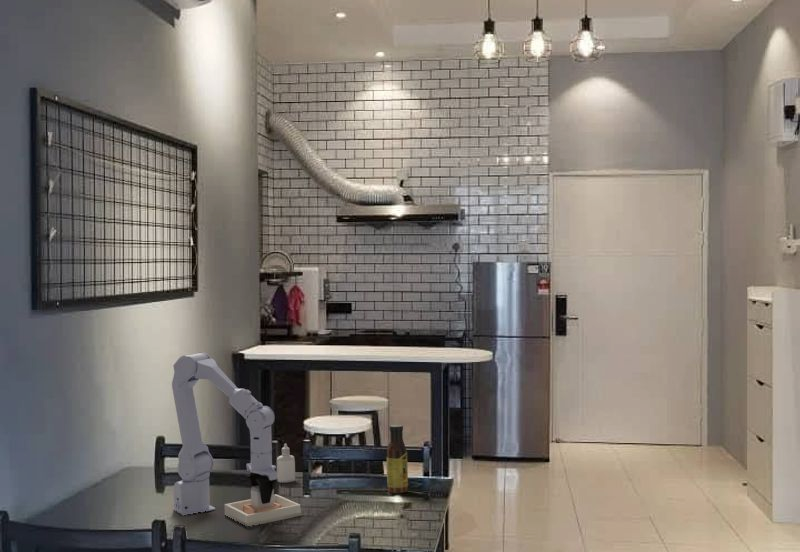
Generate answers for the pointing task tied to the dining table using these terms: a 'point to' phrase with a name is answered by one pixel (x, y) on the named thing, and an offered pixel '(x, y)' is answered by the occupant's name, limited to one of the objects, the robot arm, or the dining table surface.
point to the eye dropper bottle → (285, 466)
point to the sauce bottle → (397, 461)
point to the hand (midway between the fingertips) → (262, 501)
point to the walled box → (262, 511)
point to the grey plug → (259, 499)
